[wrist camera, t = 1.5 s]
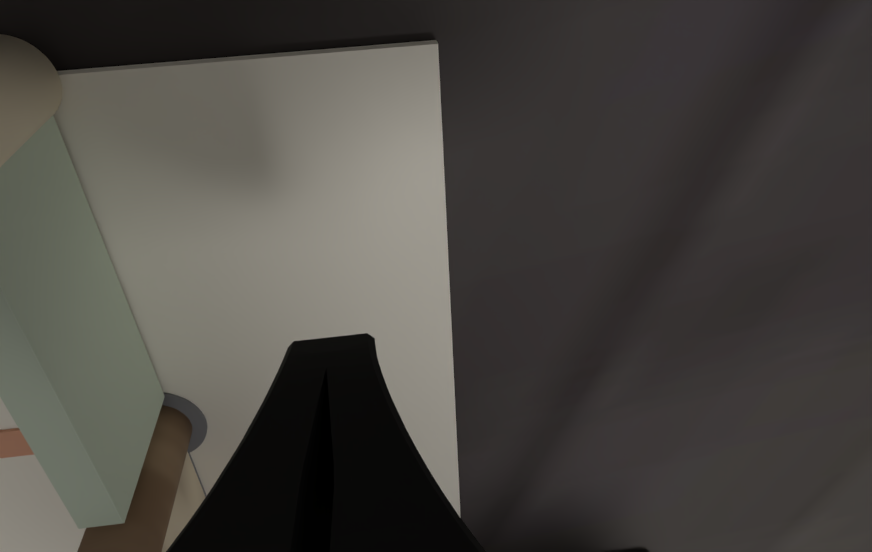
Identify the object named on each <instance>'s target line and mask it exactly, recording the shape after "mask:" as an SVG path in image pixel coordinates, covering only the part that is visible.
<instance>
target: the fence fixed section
mask: <svg viewBox="0 0 872 552" xmlns="http://www.w3.org/2000/svg"><path fill="white" fill-rule="evenodd" d="M191 435H192V424H191V422H190V420H189V419H188V417H187V416H186V415H185V414H183V413H182V412H180V411H179V410H177V409H175V408H172V407H169V406H164V405H162V407H161V410H160V413H159V416H158V419H157V422H156V426H155V429H154V432H153V435H152V438H151V441H150V444H149V448H148V451H147V454H146V457H145V460H144V463H143V466H142V469H141V473H140V476H139V479H138V482H137V485H136V488H135V491H134V495H133V498H132V501H131V504H130V507H129V510H128V513H127V516H126V520H125V523H122V524H114V525H106V526H98V527H90V528H86V530H85V532H84V535H83V538H82V540H81V543H80V546H79V548H78V551H77V552H166V551H167V550H168V548H169V547H170V546H171V544H172V543H173V542H174V540H175V539H176V538H177V536H178V535H179V534H180V532H181V531H182V530H183V528H184V527H185V526H186V524H187V523H188V522H189V520H190V519H191V518H192V516H193V515H194V513H195V512H196V511H197V509H198V508H199V506H200V505H201V503H202V502H203V500H204V499H205V498H206V497H205V494H204V492H203V489H202V487H201V484H200V482H199V479H198V477H197V474H196V472H195V469H194V467H193V464H192V462H191V459H190V456H189V454H188V451H187V450H188V446H189V442H190V438H191Z"/></svg>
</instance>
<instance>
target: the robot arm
mask: <svg viewBox="0 0 872 552" xmlns="http://www.w3.org/2000/svg"><path fill="white" fill-rule="evenodd" d="M166 552H486V551H485V550H484V549H483V548H482V546H481V545H480V544H479V543H478V541H477V540H476V539H475V537H474V536H473V535H472V533H471V532H470V530H469V529H468V528H467V526H466V525H465V523H464V522H463V521H462V519H461V518H460V517H459V515H458V514H457V512H456V511H455V509H454V508H453V506H452V505H451V503H450V502H449V501H448V499H447V498H446V496H445V495H444V493H443V492H442V490H441V488H440V487H439V485H438V484H437V482H436V481H435V479H434V477H433V476H432V474H431V472H430V471H429V469H428V467H427V466H426V464H425V462H424V461H423V459H422V457H421V455H420V454H419V452H418V450H417V448H416V447H415V445H414V443H413V441H412V439H411V437H410V435H409V433H408V431H407V430H406V428H405V425H404V423H403V421H402V419H401V417H400V415H399V413H398V411H397V409H396V407H395V404H394V402H393V400H392V398H391V395H390V393H389V391H388V388H387V385H386V383H385V380H384V377H383V375H382V372H381V368H380V365H379V362H378V358H377V353H376V345H375V338H374V337H372V336H371V335H369V334H368V333H364V334H355V335H346V336H337V337H328V338H318V339H309V340H300V341H293V342H292V344H291V345H290V346H289V347H288V348H287V351H286V353H285V356H284V358H283V361H282V363H281V365H280V367H279V370H278V372H277V374H276V376H275V378H274V380H273V383H272V385H271V387H270V389H269V391H268V393H267V395H266V397H265V399H264V401H263V403H262V404H261V406H260V408H259V410H258V412H257V414H256V415H255V417H254V419H253V421H252V423H251V424H250V426H249V428H248V430H247V432H246V433H245V435H244V437H243V439H242V441H241V442H240V444H239V446H238V447H237V449H236V451H235V452H234V454H233V455H232V457H231V459H230V460H229V462H228V463H227V465H226V467H225V468H224V470H223V471H222V473H221V474H220V476H219V478H218V479H217V481H216V482H215V484H214V486H213V487H212V489H211V490H210V492H209V493H208V495H207V496H206V498H205V499H204V500H203V502H202V503H201V505H200V506H199V508H198V509H197V511H196V512H195V513H194V515H193V516H192V518H191V519H190V520H189V522H188V523H187V524H186V526H185V527H184V528H183V530H182V531H181V532H180V534H179V535H178V536H177V538H176V539H175V540H174V542H173V543H172V544H171V546H170V547H169V548H168V550H167V551H166Z"/></svg>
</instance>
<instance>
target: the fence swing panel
mask: <svg viewBox="0 0 872 552" xmlns="http://www.w3.org/2000/svg"><path fill="white" fill-rule="evenodd" d="M61 100H62V84H61V81H60V77H59V75H58V73H57V71H56V69H55V67H54V66H53V64H52V63H51V62H50V60H49V59H48V58H47V57H46V56H45V55H44V54H43V53H42V52H41V51H40V50H38V49H37V48H36V47H34V46H33V45H31V44H29V43H28V42H26V41H24V40H22V39H19V38H16V37H13V36H9V35H3V34H0V398H1V399H2V401H3V403H4V404H5V406H6V408H7V409H8V411H9V413H10V414H11V416H12V418H13V419H14V421H15V423H16V424H17V426H18V428H19V429H20V431H21V433H22V435H23V436H24V438H25V440H26V441H27V443H28V445H29V446H30V448H31V450H32V451H33V453H34V455H35V456H36V458H37V460H38V461H39V463H40V465H41V466H42V468H43V470H44V471H45V473H46V475H47V476H48V478H49V480H50V482H51V483H52V485H53V487H54V488H55V490H56V492H57V493H58V495H59V497H60V498H61V500H62V502H63V503H64V505H65V507H66V508H67V510H68V512H69V513H70V515H71V517H72V518H73V520H74V522H75V523H76V525H77V527H78V529H82V528H90V527H98V526H106V525H114V524H122V523H125V520H126V516H127V513H128V510H129V507H130V504H131V501H132V498H133V495H134V491H135V488H136V485H137V482H138V479H139V476H140V473H141V469H142V466H143V463H144V460H145V457H146V454H147V451H148V448H149V444H150V441H151V438H152V435H153V432H154V429H155V426H156V422H157V419H158V416H159V413H160V410H161V407H162V404H163V401H164V397H165V396H164V393H163V391H162V388H161V386H160V383H159V381H158V378H157V376H156V373H155V370H154V368H153V365H152V363H151V360H150V358H149V355H148V353H147V350H146V348H145V345H144V343H143V340H142V338H141V335H140V333H139V330H138V328H137V325H136V323H135V320H134V318H133V315H132V313H131V310H130V308H129V305H128V302H127V300H126V297H125V295H124V292H123V290H122V287H121V285H120V282H119V280H118V277H117V275H116V272H115V270H114V267H113V265H112V262H111V260H110V257H109V255H108V252H107V250H106V247H105V245H104V242H103V239H102V237H101V234H100V232H99V229H98V227H97V224H96V222H95V219H94V217H93V214H92V212H91V209H90V207H89V204H88V202H87V199H86V197H85V194H84V192H83V189H82V187H81V184H80V182H79V179H78V177H77V174H76V171H75V169H74V166H73V164H72V161H71V159H70V156H69V154H68V151H67V149H66V146H65V144H64V141H63V139H62V136H61V134H60V131H59V129H58V126H57V124H56V121H55V119H54V116H53V115H54V114H55V112H56V111H57V110H58V108H59V106H60V104H61Z"/></svg>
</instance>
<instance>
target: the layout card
mask: <svg viewBox="0 0 872 552" xmlns="http://www.w3.org/2000/svg"><path fill="white" fill-rule="evenodd" d="M57 73H58V75H59V77H60V81H61V84H62V100H61V104H60V106H59V108H58V110H57V111H56V112H55V114H54V115H53V116H54V119H55V121H56V124H57V126H58V129H59V131H60V134H61V136H62V139H63V141H64V144H65V146H66V149H67V151H68V154H69V156H70V159H71V161H72V164H73V166H74V169H75V171H76V174H77V177H78V179H79V182H80V184H81V187H82V189H83V192H84V194H85V197H86V199H87V202H88V204H89V207H90V209H91V212H92V214H93V217H94V219H95V222H96V224H97V227H98V229H99V232H100V234H101V237H102V239H103V242H104V245H105V247H106V250H107V252H108V255H109V257H110V260H111V262H112V265H113V267H114V270H115V272H116V275H117V277H118V280H119V282H120V285H121V287H122V290H123V292H124V295H125V297H126V300H127V302H128V305H129V308H130V310H131V313H132V315H133V318H134V320H135V323H136V325H137V328H138V330H139V333H140V335H141V338H142V340H143V343H144V345H145V348H146V350H147V353H148V355H149V358H150V360H151V363H152V365H153V368H154V370H155V373H156V376H157V378H158V381H159V383H160V386H161V388H162V391H163V393H164V396H165V397H164V401H163V404H162V405H164V406H169V407H172V408H175V409H177V410H179V411H180V412H182V413H183V414H185V415H186V416H187V417H188V419H189V420H190V422H191V424H192V435H191V438H190V442H189V446H188V450H187V451H188V454H189V456H190V459H191V462H192V464H193V467H194V469H195V472H196V474H197V477H198V479H199V482H200V484H201V487H202V489H203V492H204V494H205V497H206V496H207V495H208V493H209V492H210V490H211V489H212V487H213V486H214V484H215V482H216V481H217V479H218V478H219V476H220V474H221V473H222V471H223V470H224V468H225V467H226V465H227V463H228V462H229V460H230V459H231V457H232V455H233V454H234V452H235V451H236V449H237V447H238V446H239V444H240V442H241V441H242V439H243V437H244V435H245V433H246V432H247V430H248V428H249V426H250V424H251V423H252V421H253V419H254V417H255V415H256V414H257V412H258V410H259V408H260V406H261V404H262V403H263V401H264V399H265V397H266V395H267V393H268V391H269V389H270V387H271V385H272V383H273V380H274V378H275V376H276V374H277V372H278V370H279V367H280V365H281V363H282V361H283V358H284V356H285V353H286V351H287V348H288V347H289V346H290V345H291V344H292V342H293V341H300V340H309V339H318V338H328V337H337V336H346V335H355V334H364V333H368V334H369V335H371V336H372V337H374V338H375V345H376V353H377V358H378V362H379V365H380V368H381V372H382V375H383V377H384V380H385V383H386V385H387V388H388V391H389V393H390V395H391V398H392V400H393V402H394V404H395V407H396V409H397V411H398V413H399V415H400V417H401V419H402V421H403V423H404V425H405V428H406V430H407V431H408V433H409V435H410V437H411V439H412V441H413V443H414V445H415V447H416V448H417V450H418V452H419V454H420V455H421V457H422V459H423V461H424V462H425V464H426V466H427V467H428V469H429V471H430V472H431V474H432V476H433V477H434V479H435V481H436V482H437V484H438V485H439V487H440V488H441V490H442V492H443V493H444V495H445V496H446V498H447V499H448V501H449V502H450V503H451V505H452V506H453V508H454V509H455V511H456V512H457V514H458V515H459V517H460V518H461V516H460V495H459V474H458V453H457V431H456V410H455V389H454V368H453V347H452V326H451V305H450V284H449V263H448V242H447V221H446V200H445V179H444V157H443V136H442V115H441V94H440V73H439V52H438V42H437V40H429V41H417V42H405V43H392V44H380V45H368V46H356V47H344V48H332V49H319V50H307V51H295V52H283V53H271V54H258V55H246V56H234V57H222V58H210V59H197V60H185V61H173V62H161V63H149V64H137V65H124V66H112V67H100V68H88V69H76V70H63V71H57ZM85 530H86V528H82V529H78V527H77V525H76V523H75V522H74V520H73V518H72V517H71V515H70V513H69V512H68V510H67V508H66V507H65V505H64V503H63V502H62V500H61V498H60V497H59V495H58V493H57V492H56V490H55V488H54V487H53V485H52V483H51V482H50V480H49V478H48V476H47V475H46V473H45V471H44V470H43V468H42V466H41V465H40V463H39V461H38V460H37V458H36V456H35V455H34V453H33V451H32V450H31V448H30V446H29V445H28V443H27V441H26V440H25V438H24V436H23V435H22V433H21V431H20V429H19V428H18V426H17V424H16V423H15V421H14V419H13V418H12V416H11V414H10V413H9V411H8V409H7V408H6V406H5V404H4V403H3V401H2V399H1V398H0V552H77V551H78V548H79V546H80V543H81V540H82V538H83V535H84V532H85Z"/></svg>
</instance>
